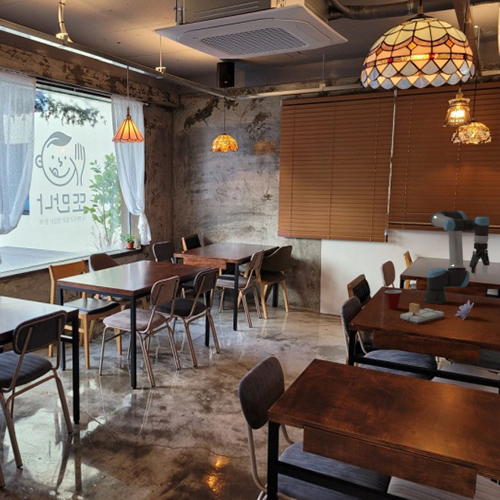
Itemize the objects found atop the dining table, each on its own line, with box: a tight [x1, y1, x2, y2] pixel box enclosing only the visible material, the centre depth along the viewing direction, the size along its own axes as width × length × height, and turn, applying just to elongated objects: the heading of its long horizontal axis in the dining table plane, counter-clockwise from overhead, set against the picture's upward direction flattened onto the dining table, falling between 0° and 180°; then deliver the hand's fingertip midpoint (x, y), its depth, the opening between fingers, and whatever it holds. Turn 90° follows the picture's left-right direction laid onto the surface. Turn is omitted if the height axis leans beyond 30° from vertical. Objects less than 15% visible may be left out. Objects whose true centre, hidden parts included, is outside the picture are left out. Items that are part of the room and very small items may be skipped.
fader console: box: [399, 307, 445, 325], centre depth 278 cm, size 12×26×3 cm, turn 124°
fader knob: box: [408, 302, 421, 316], centre depth 273 cm, size 5×3×9 cm, turn 34°
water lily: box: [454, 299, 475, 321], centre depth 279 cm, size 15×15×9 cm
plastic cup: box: [384, 289, 402, 310], centre depth 302 cm, size 11×11×12 cm
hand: (478, 277), depth 279 cm, fingers open, 13 cm apart
